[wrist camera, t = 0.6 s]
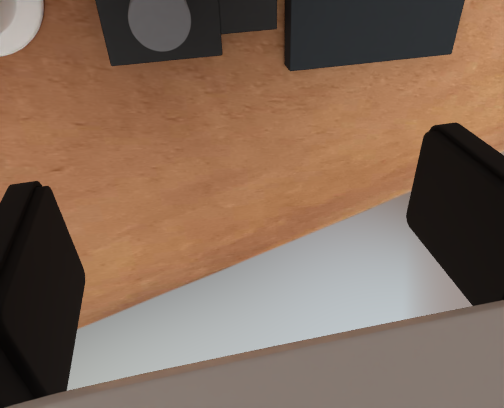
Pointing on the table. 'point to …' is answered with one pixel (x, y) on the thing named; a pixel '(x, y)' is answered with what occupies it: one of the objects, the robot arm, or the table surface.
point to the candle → (18, 23)
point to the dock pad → (367, 31)
